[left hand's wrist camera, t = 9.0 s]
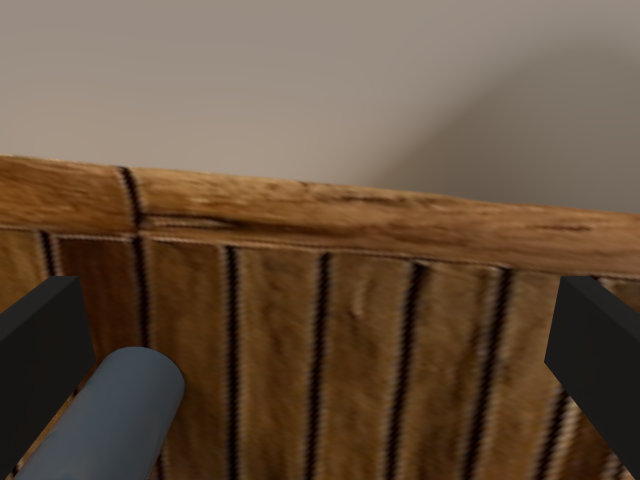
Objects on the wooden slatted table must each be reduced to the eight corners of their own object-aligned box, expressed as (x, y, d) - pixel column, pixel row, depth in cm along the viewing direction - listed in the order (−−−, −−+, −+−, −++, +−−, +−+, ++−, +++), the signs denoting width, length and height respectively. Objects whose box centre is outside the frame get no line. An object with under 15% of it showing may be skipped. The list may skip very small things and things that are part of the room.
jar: (90, 345, 46) (-41, 501, 29) (181, 347, 46) (101, 504, 29) (103, 417, 49) (-9, 597, 32) (188, 419, 49) (119, 598, 32)
